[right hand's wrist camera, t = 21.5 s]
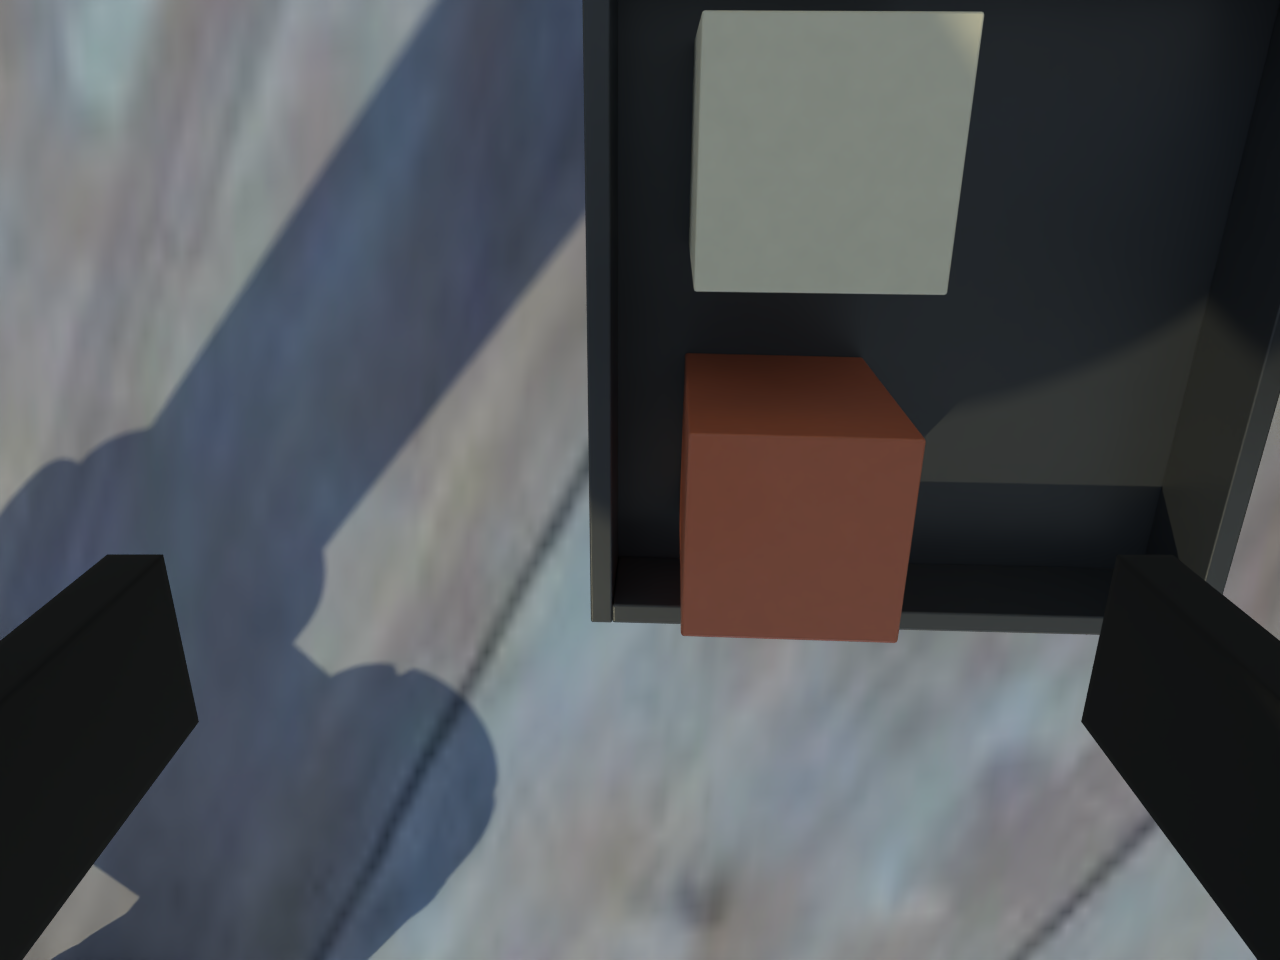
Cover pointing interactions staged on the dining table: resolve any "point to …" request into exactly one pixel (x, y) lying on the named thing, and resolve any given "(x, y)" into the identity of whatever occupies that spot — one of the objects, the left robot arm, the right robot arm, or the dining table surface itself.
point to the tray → (978, 305)
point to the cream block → (829, 149)
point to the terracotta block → (794, 499)
